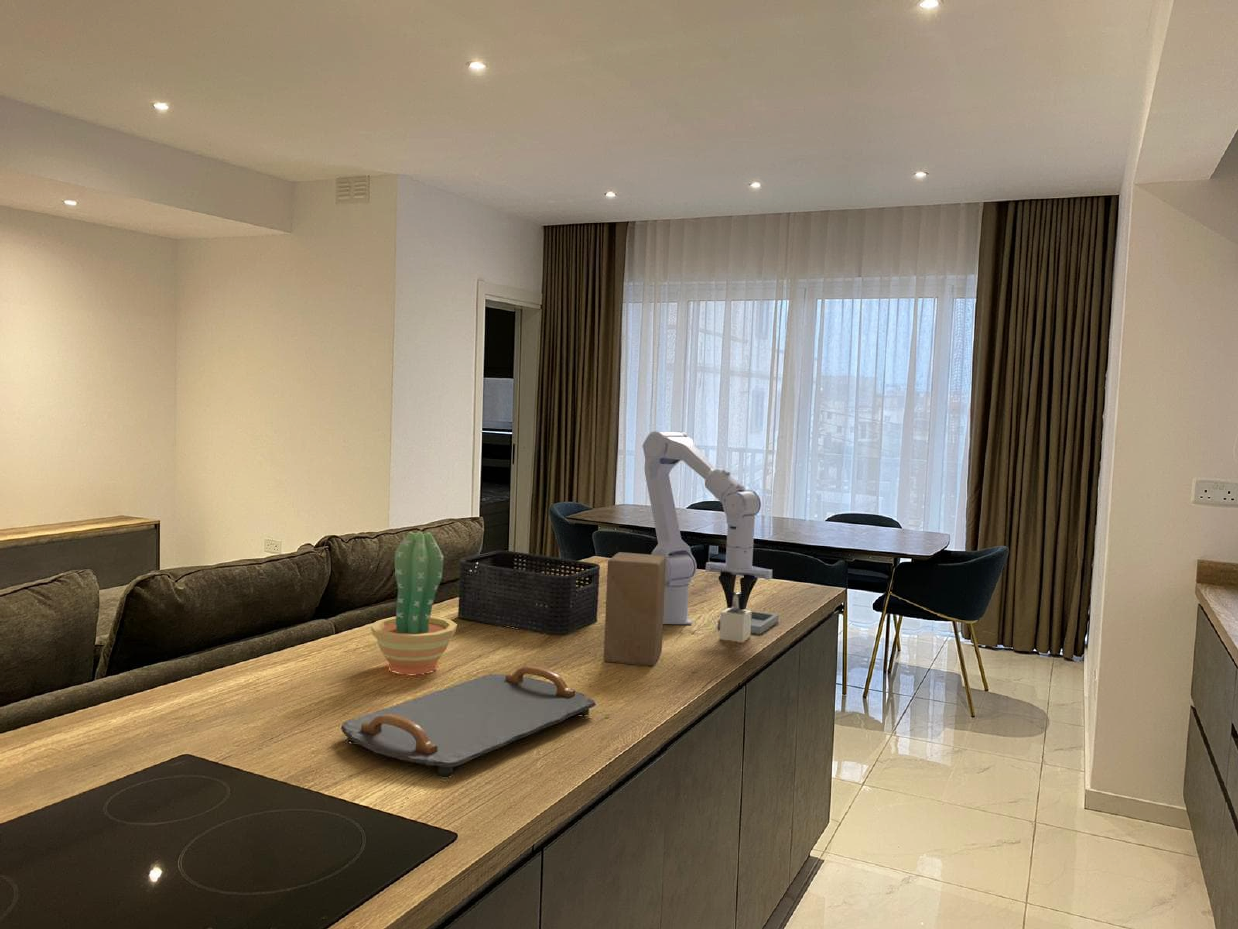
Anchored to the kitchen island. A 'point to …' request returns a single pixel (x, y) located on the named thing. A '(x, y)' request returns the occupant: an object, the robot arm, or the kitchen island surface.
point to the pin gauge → (736, 602)
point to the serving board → (468, 718)
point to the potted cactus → (415, 609)
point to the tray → (760, 621)
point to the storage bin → (529, 592)
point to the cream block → (735, 625)
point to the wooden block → (634, 608)
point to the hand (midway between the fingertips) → (736, 608)
